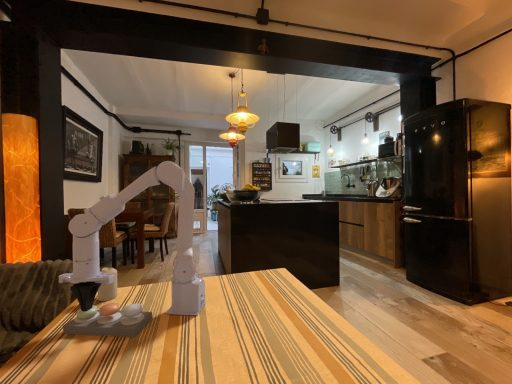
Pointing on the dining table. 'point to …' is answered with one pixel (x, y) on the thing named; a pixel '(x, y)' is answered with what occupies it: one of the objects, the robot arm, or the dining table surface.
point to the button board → (109, 325)
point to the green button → (87, 313)
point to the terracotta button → (109, 309)
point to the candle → (108, 286)
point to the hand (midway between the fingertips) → (87, 309)
